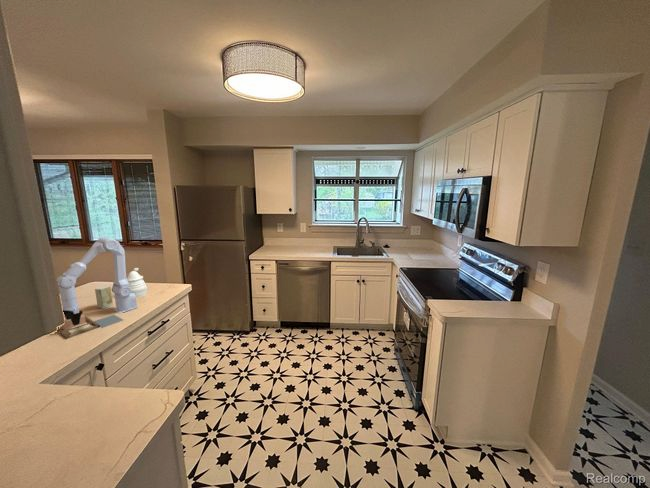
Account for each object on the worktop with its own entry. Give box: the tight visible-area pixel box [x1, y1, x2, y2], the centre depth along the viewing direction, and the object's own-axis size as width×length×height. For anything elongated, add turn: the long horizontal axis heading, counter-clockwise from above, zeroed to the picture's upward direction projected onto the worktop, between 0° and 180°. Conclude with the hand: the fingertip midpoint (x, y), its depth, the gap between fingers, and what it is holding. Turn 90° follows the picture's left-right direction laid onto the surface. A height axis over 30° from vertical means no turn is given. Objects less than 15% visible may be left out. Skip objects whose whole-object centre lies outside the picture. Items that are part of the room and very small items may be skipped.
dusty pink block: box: [60, 314, 87, 330], centre depth 137 cm, size 9×2×4 cm, turn 150°
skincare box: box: [94, 285, 114, 310], centre depth 159 cm, size 6×4×12 cm
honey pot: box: [126, 267, 148, 299], centre depth 177 cm, size 13×13×18 cm
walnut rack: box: [56, 315, 101, 340], centre depth 136 cm, size 13×19×2 cm
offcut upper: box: [68, 324, 93, 335], centre depth 133 cm, size 8×4×1 cm, turn 150°
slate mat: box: [93, 314, 124, 329], centre depth 143 cm, size 10×12×1 cm
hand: (73, 322), depth 137 cm, fingers open, 7 cm apart
